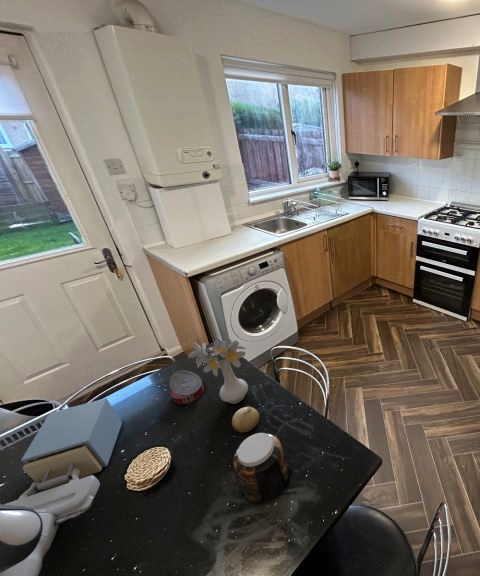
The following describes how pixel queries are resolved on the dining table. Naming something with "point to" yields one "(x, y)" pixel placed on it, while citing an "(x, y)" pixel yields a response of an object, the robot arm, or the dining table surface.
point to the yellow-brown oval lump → (245, 419)
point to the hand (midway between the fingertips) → (57, 476)
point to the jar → (261, 467)
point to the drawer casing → (78, 431)
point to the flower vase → (223, 367)
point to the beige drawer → (62, 466)
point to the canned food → (185, 386)
